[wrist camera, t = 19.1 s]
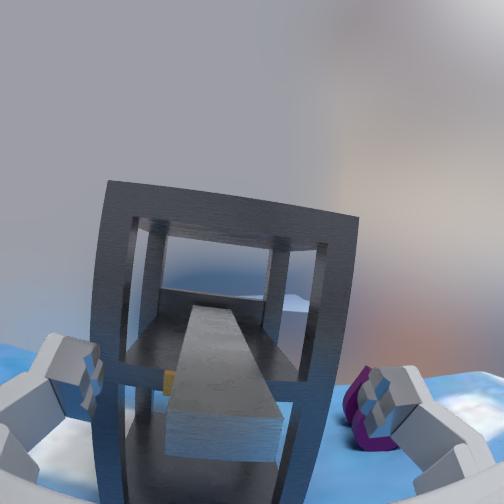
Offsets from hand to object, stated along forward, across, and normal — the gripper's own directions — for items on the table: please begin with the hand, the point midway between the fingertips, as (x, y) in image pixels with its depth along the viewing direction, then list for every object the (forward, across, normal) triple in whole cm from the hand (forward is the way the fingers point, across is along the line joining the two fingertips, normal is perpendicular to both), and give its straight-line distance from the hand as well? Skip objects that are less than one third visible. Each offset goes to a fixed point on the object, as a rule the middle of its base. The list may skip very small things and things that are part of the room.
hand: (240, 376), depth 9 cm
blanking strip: (+10, 0, +10) cm, 14 cm away
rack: (+8, 0, +26) cm, 27 cm away
